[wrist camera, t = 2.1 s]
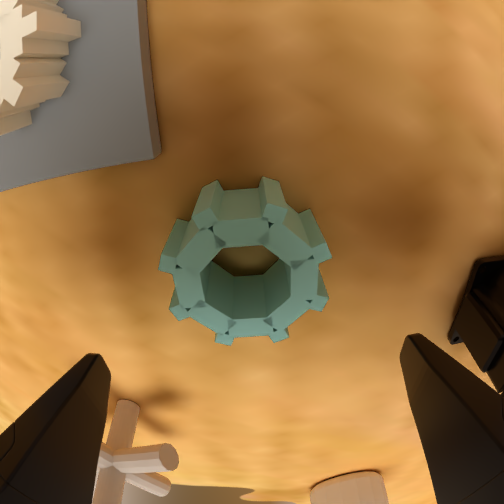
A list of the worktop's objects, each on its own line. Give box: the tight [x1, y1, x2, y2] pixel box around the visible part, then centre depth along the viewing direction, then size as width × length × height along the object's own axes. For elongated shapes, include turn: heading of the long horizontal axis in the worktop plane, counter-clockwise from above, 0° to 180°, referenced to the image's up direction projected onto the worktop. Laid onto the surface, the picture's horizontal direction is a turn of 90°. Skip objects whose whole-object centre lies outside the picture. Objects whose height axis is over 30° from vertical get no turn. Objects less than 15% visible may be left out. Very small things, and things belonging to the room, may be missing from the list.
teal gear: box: [158, 176, 332, 346], centre depth 13 cm, size 6×6×3 cm
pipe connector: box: [92, 400, 179, 504], centre depth 16 cm, size 10×10×10 cm
